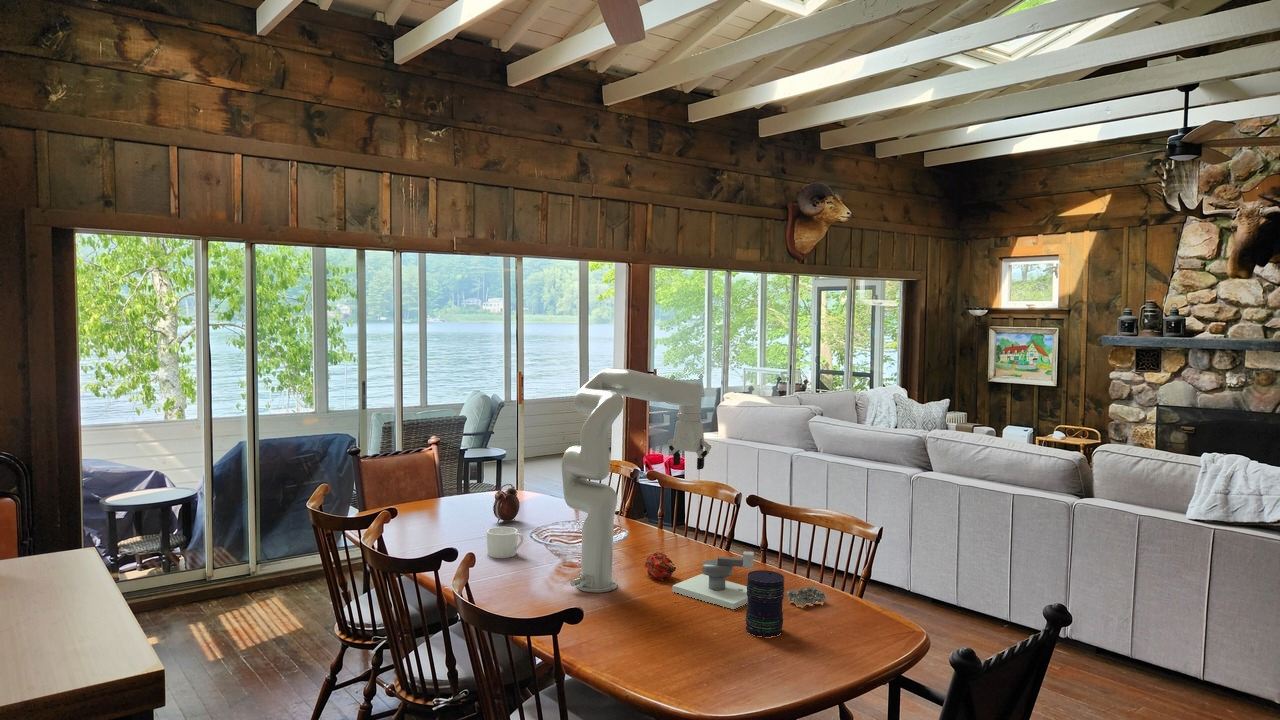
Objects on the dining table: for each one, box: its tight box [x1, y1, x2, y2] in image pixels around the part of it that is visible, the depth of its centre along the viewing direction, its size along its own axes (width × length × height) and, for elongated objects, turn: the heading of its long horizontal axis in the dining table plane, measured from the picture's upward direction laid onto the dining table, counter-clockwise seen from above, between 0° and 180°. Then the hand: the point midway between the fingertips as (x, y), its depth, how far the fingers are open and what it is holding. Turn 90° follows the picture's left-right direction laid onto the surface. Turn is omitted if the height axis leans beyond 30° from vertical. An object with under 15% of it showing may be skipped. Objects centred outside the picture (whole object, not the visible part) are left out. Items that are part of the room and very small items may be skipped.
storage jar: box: [745, 569, 785, 637], centre depth 215 cm, size 10×10×15 cm
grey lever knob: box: [701, 550, 755, 577], centre depth 241 cm, size 15×9×6 cm, turn 80°
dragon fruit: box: [643, 551, 677, 581], centre depth 256 cm, size 8×8×12 cm
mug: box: [486, 526, 525, 559], centre depth 276 cm, size 13×10×8 cm
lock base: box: [671, 573, 748, 610], centre depth 242 cm, size 15×22×6 cm
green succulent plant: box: [785, 585, 828, 606], centre depth 237 cm, size 11×8×4 cm
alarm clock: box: [492, 483, 520, 524], centre depth 318 cm, size 11×5×15 cm, turn 144°
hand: (688, 467), depth 279 cm, fingers open, 9 cm apart
